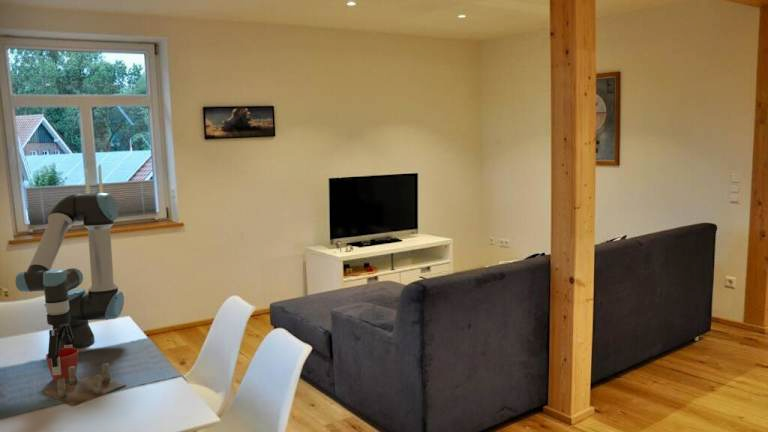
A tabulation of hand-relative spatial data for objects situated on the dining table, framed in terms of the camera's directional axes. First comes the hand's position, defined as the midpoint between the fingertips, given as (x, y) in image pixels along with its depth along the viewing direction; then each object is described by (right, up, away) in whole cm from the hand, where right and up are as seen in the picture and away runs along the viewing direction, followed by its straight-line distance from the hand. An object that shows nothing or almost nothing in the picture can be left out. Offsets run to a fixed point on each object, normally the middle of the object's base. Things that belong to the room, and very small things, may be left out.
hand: (63, 368), depth 228 cm
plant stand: (+14, -5, -11) cm, 18 cm away
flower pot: (0, -4, +1) cm, 4 cm away
